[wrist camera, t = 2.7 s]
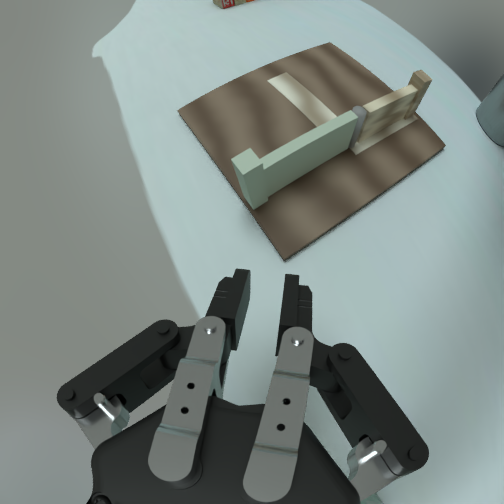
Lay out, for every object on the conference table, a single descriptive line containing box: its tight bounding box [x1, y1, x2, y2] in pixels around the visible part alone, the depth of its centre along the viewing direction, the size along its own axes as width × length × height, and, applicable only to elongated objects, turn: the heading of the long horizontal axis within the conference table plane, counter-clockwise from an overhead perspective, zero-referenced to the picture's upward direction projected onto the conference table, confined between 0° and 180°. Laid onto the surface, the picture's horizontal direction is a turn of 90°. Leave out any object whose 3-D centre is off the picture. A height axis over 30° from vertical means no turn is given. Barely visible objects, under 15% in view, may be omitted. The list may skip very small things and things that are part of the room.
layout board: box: [178, 42, 446, 261], centre depth 34 cm, size 30×27×1 cm
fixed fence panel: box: [357, 70, 432, 143], centre depth 28 cm, size 12×2×8 cm, turn 123°
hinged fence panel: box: [231, 106, 367, 210], centre depth 27 cm, size 16×2×8 cm, turn 123°
